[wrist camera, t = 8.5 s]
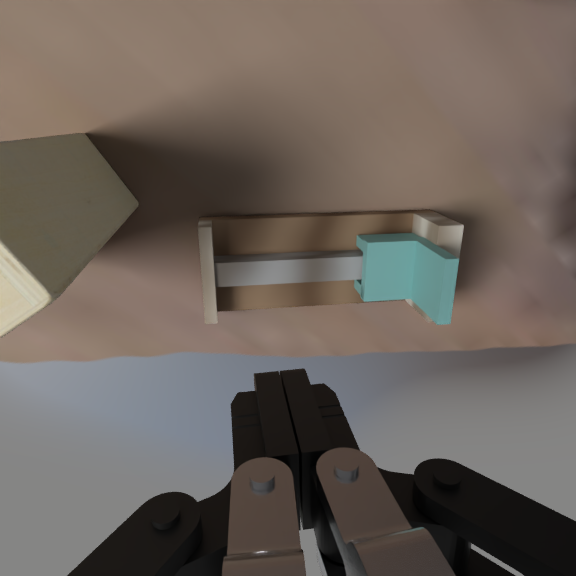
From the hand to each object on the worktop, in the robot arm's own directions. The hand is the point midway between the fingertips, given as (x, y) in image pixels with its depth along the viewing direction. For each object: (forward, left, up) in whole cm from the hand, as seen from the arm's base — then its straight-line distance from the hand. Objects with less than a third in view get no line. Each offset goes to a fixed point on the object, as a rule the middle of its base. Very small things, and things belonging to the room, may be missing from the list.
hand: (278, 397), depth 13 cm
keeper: (-7, +11, -25) cm, 28 cm away
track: (-3, +8, -26) cm, 28 cm away
